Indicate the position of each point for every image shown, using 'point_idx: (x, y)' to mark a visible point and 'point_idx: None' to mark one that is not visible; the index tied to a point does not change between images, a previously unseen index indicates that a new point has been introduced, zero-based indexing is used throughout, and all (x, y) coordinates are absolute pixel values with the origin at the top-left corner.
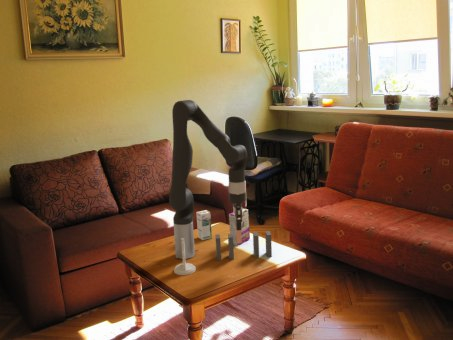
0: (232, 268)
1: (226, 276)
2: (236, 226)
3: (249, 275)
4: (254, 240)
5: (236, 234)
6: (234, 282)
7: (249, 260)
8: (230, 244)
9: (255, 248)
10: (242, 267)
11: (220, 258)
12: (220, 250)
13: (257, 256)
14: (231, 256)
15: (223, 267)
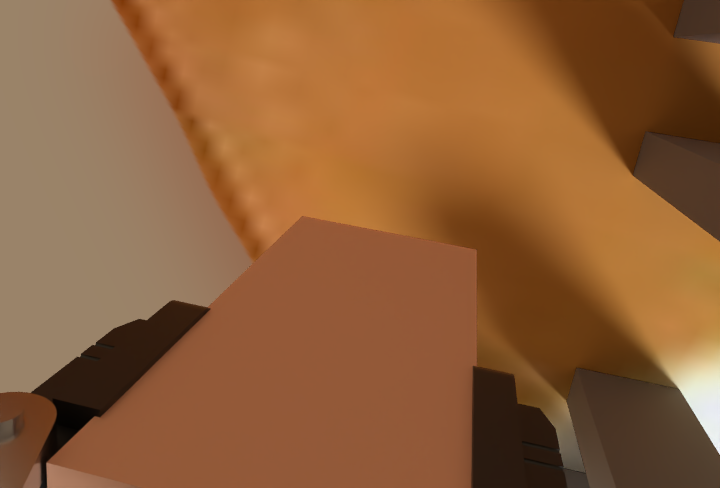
0: (421, 106)
1: (270, 9)
2: (131, 335)
3: (240, 212)
4: (614, 482)
5: (346, 271)
6: (143, 55)
7: (538, 304)
8: (700, 179)
9: (591, 427)
10: (411, 201)
11: (681, 27)
12: (718, 28)
13: (572, 394)
14: (649, 156)
15: (475, 21)
